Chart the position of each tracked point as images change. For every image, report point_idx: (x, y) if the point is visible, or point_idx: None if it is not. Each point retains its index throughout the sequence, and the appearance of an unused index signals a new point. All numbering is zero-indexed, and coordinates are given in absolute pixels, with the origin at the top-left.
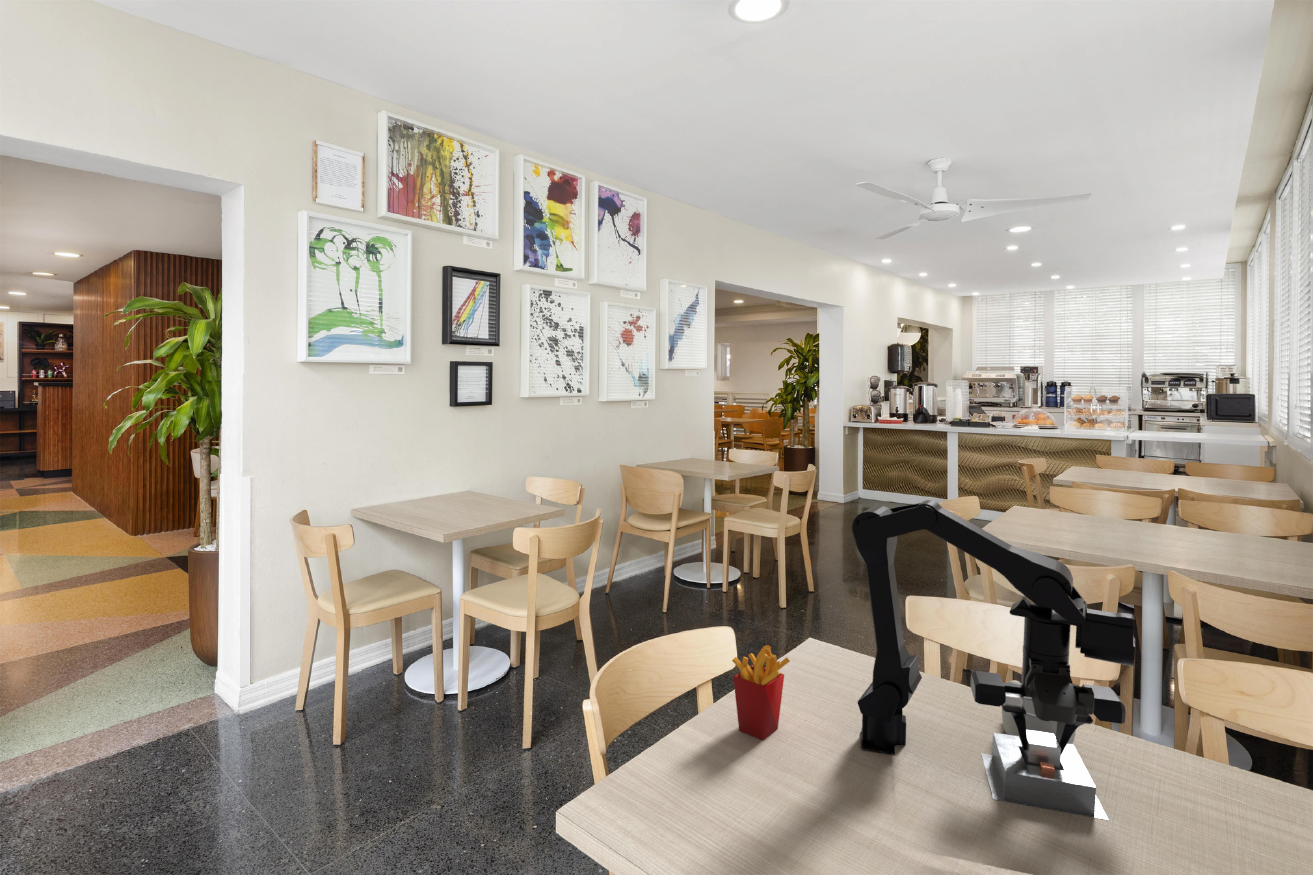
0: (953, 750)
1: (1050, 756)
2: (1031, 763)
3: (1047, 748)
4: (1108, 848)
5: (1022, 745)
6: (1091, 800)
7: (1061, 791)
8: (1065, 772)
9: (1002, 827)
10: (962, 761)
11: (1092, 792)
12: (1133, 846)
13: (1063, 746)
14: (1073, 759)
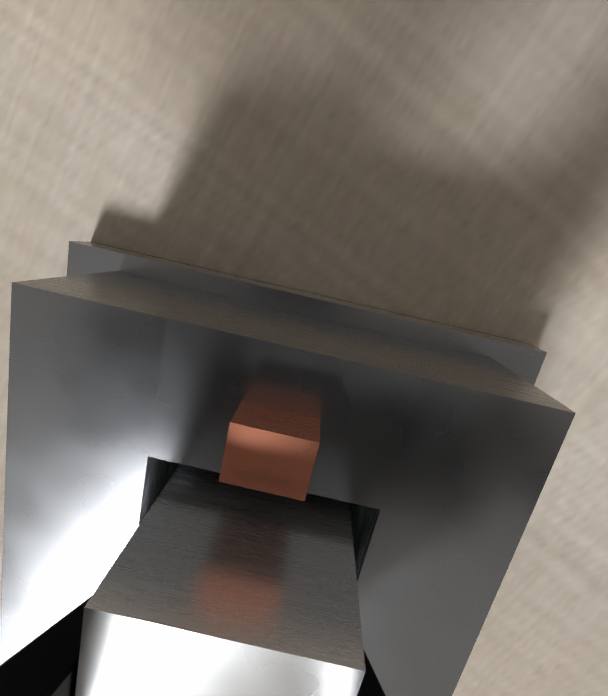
0: (500, 681)
1: (204, 547)
2: (332, 519)
3: (210, 609)
4: (149, 83)
5: (370, 663)
6: (94, 279)
7: (237, 316)
8: (151, 438)
9: (570, 187)
10: (500, 620)
11: (60, 283)
12: (36, 113)
13: (52, 640)
14: (49, 570)
